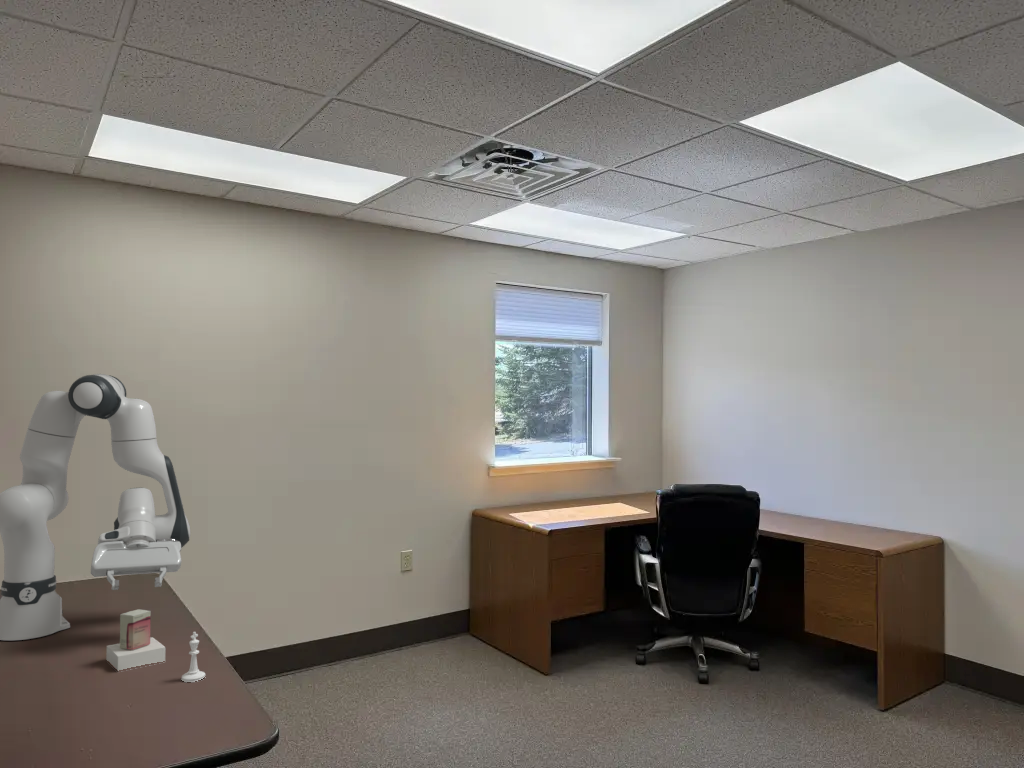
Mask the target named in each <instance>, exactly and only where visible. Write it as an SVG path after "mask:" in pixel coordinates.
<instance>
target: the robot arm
mask: <svg viewBox="0 0 1024 768" xmlns="http://www.w3.org/2000/svg"><path fill="white" fill-rule="evenodd" d="M86 416H88V417H92V418H97V419H101V420H107V422H108V423H109V426H110V436H111V437H110V440H111V451H112V452H111V453H112V458H113V460H114V462H115V463H116V464H117V465H118V466H119V467H120V468H122V469H123V470H126V471H127V472H130V473H132V474H133V473H134V474H137V475H141V476H146V477H148V478H151V479H154V480H155V481H157V482H158V483H159V484H160V485H161V487H162V491H163V495H164V498H165V499H164V500H165V504H166V507H167V512H166V513H164V514H159V515H156V509H155V508H156V506H155V501H154V495H153V493H152V491H151V489H149V488H147V487H132V488H131V487H130V488H128V489H124V490H123V491H122V493H120V498H119V502H118V507H117V517H116V518H115V520H114V521H113V530H110V531H106V532H102V533H101V534H100V535H99V536H98V540H97V545H96V546H95V548H94V549H93V550H94V551H93V554H92V558H91V565H90V574H91V576H93V577H95V578H98V577H106V580H107V582H108V583H110V585H111V591H116V590H117V591H118V590H119V589H120V579H115V578H114V576H127V575H128V576H129V575H130V576H131V575H145V574H146V575H147V574H159V576H157V577H155V578H154V587H155V588H158V587H160V588H161V587H162V584H163V579H164V578H165V576H166V575H167V573H176V572H178V571H179V570H180V568H181V566H182V555H181V551H182V549H183V548H184V547H185V545H187V544H188V543H189V541H190V538H191V533H192V532H191V527H190V522H189V519H188V517H187V516H186V513H185V510H184V504H183V500H182V496H181V493H180V488H179V484H178V479H177V476H176V472H175V469H174V465H173V462H172V461H171V459H170V457H169V456H167V455H165V454H163V452H162V450H161V449H160V446H159V444H158V439H157V438H158V437H157V426H156V420H155V416H154V411H153V407H152V405H151V404H150V403H149V402H148V401H147V400H144V399H140V398H131V397H130V398H129V397H127V388H126V386H125V385H124V383H123V382H122V381H121V380H120V379H119V378H117V377H116V376H113V375H108V374H104V373H94V374H88V375H87V374H86V375H83V376H80V377H79V378H78V379H77V378H76V380H75V381H73V383H72V384H71V385H70V387H69V389H68V391H65V390H51V391H48V392H45V393H44V394H42V396H41V397H40V399H39V401H38V402H37V404H36V407H35V408H34V410H33V413H32V415H31V418H30V421H29V424H28V426H27V430H26V434H25V438H24V441H23V444H22V447H21V451H20V455H19V460H20V462H21V465H22V480H21V483H20V484H19V485H14V486H11V487H9V488H6V489H5V490H4V491H2V492H0V537H1V540H2V541H1V542H2V547H3V553H4V554H3V555H4V556H3V557H4V558H3V559H4V560H3V562H4V563H3V564H4V566H3V567H4V568H3V570H4V571H3V580H2V581H1V585H0V590H1V591H0V595H1V597H0V641H22V640H23V641H25V640H30V639H31V640H32V639H36V638H41V637H45V636H50V635H52V634H54V633H57V632H59V631H63V630H67V629H69V628H71V622H69V621H68V620H67V619H66V618H65V617H64V616H63V614H64V613H63V612H64V610H63V606H62V605H63V602H62V601H63V599H62V597H61V596H60V595H59V594H58V593H57V591H56V589H57V576H56V575H55V557H56V552H55V551H56V547H55V544H54V543H53V541H51V537H50V534H49V530H48V524H47V523H48V521H51V520H53V519H55V518H56V517H58V516H59V515H60V514H61V513H62V512H63V511H64V510H65V509H66V508H67V506H68V505H69V499H70V497H69V493H68V490H67V482H68V481H67V480H68V467H69V463H70V459H71V455H72V450H73V447H74V443H75V439H76V437H77V432H78V429H79V425H80V423H81V421H82V419H84V417H86Z"/></svg>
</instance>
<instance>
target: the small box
mask: <svg viewBox="0 0 1024 768" xmlns="http://www.w3.org/2000/svg"><path fill="white" fill-rule="evenodd" d="M151 614H152V613H151V610H146V609H140V608H139V609H135V610H130V611H127V612H124V613H121V614H120V615H119V643H120V648H123V649H130V650H134V649H137V648H140V647H143V646H146V645H149V644H150V638H151V617H152V615H151Z"/></svg>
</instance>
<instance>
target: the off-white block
mask: <svg viewBox="0 0 1024 768" xmlns="http://www.w3.org/2000/svg"><path fill="white" fill-rule="evenodd" d="M105 657H106V658H105V659H106V660H107V661H109V662H110V663H111V664H112V665H113V666H114V667H115V668H116V669H117V670H118V671H119V670H123V669H127V668H131V667H136V666H141V665H145V664H151V663H157V662H163V661H165V662H166V646H164V644H162V643H161V642H159V641H158V640H157V639H156V638H154V637H151V636H150V644H149V645H146V646H143V647H140V648H137V649H134V650H130V649H123V648H120V642H119V643H115V644H109V645H106V656H105ZM106 660H105V661H106ZM107 661H106V662H107ZM163 663H164V662H163Z"/></svg>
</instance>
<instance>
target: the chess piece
mask: <svg viewBox="0 0 1024 768" xmlns="http://www.w3.org/2000/svg"><path fill="white" fill-rule="evenodd" d="M197 637H199V634H198V633H197V632H196V631H193V632H192V635H190V639H191V640H190V641H189V642H188V643H189V644H188V645H189V646H190V649H191V650H189V652H188V655H191V658H190V665H189V670H188V671H187V672H185V673H183V674H182V675H181V679H180V681H181V680H182V681H184V682H183V683H187V682H191V683H196V682H195V681H197V682H199V681H198V680H201V679H203V678H204V677H205V676H206V672H205V671H201V670H200V669H199V667H198V660H197V659H198V657H197V654H199V653H200V650H198V646H199V643H200V640H199V639H197ZM205 678H206V677H205ZM203 680H204V679H203ZM182 681H181V682H182ZM201 681H202V680H201Z"/></svg>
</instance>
